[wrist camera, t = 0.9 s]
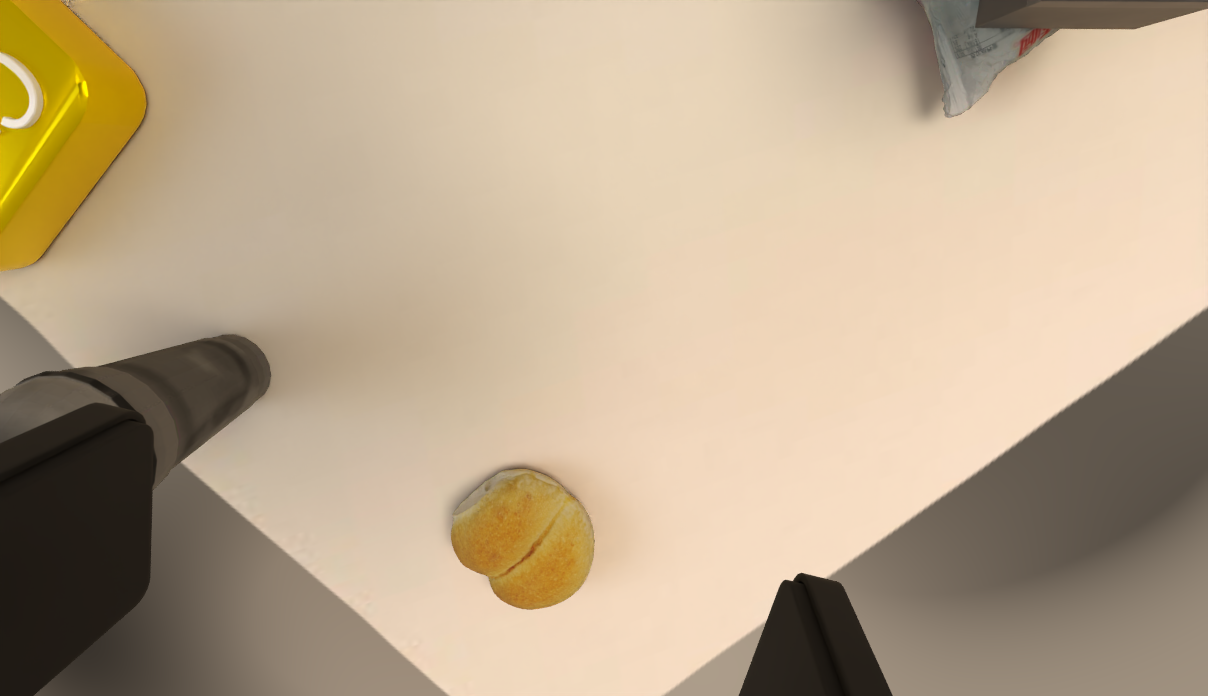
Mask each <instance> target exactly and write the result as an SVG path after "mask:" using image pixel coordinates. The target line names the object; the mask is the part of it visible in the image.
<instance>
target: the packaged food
mask: <svg viewBox="0 0 1208 696" xmlns="http://www.w3.org/2000/svg"><path fill="white" fill-rule="evenodd" d="M916 1H917V2H918V3H919V4H920V5H921V6H922V7H923V9H924V10H925V12H926V15H927V18H928V21H929V23H930V25H931V27H932V31H933V36H934V44H935V50H936V55H937V59H938V64H939V69H940V74H941V80H942V83H943V86H944V94H943V98H942V101H943V102H944V104H945V105H944V108H943V110H944V111H945V117H948V118H950V117H954V116H957V115H960V114H962V113H963V112H965V111H966V110H969V109H970V108H971V106H972V105H973V104H975V103H976V102H977V101H978V100H979V99H980V98H981V97H982V96H983V95H984V94H985V93H986V92H988V89H989V87H990V85H991V83H992V81H993V80H994V79H995V78H996V76H997V74H998V73H1000V72H1001V71H1002V70H1003V69H1004V68H1005V67H1006V66H1008V65H1010V64H1011V63H1014V62H1016V61H1017V60H1018V59H1020V58H1022V57H1023V56H1025V55H1027V54H1028V53H1029V52H1030V51H1031V50H1032V49H1033V48H1034V47H1036V46H1038V45H1039V44H1040V43H1041V42H1042V41H1043V40H1044V39H1045V38H1047V37H1049V36H1051V35H1052V34H1054V33H1055V32H1056V31H1058V30H1059V29H1039V28H975V25H976V18H977V12H978V6H979V0H916Z"/></svg>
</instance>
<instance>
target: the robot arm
mask: <svg viewBox="0 0 1208 696" xmlns="http://www.w3.org/2000/svg"><path fill="white" fill-rule="evenodd" d="M153 453H154V433H153V430H152V428H151V427H150V426H149V425H147V424H146V420H145V418H144V417H143V415H142V414H140V413H139V412H137V411H132V410H128V409H124V408H120V407H116V406H112V405H108V404H104V403H97V402H95V403H91V404H88V405H85V406H83V407H81V408H79V409H76V410H74V411H72V412H70V413H67V414H65V415H63V416H60V417H58V418H56V419H54V420H51V421H49V422H47V423H45V424H42V425H40V426H38V427H35V428H33V429H31V430H29V431H26V432H24V433H22V434H20V435H17V436H15V437H13V438H11V439H8V440H6V441H4V442H1V443H0V696H34V695H35V694H36V693H37V692H38V691H39V690H40V689H41V688H43V687H44V686H45V685H46V684H47V683H48V682H49V681H51V680H52V679H53V678H54V677H55V676H56V675H58V674H59V673H60V672H61V671H62V670H63V669H64V668H66V667H67V666H68V665H69V664H70V663H71V662H72V661H74V660H75V659H76V658H77V657H78V656H79V655H80V654H82V653H83V652H84V651H85V650H86V649H87V648H88V647H90V646H91V645H92V644H93V643H94V642H95V641H96V640H98V639H99V638H100V637H101V636H102V635H103V634H104V633H106V632H107V631H108V630H109V629H110V628H111V627H112V626H113V625H114V624H116V623H117V622H118V621H119V620H120V619H122V618H123V617H124V616H125V615H126V614H127V613H128V612H130V611H131V610H132V609H133V608H134V607H135V606H136V605H137V604H138V603H139V602H140V600H141V599H142V598H143V596H144V594H145V592H146V590H147V588H148V585H149V582H150V566H151V565H150V564H151V528H152V490H153ZM739 696H892V693H891V691H890V689H889V687H888V684H887V682H886V680H885V678H884V675H883V673H882V671H881V669H880V667H879V664H878V662H877V660H876V658H875V656H874V654H873V651H872V649H871V647H870V645H869V643H868V640H867V638H866V636H865V634H864V632H863V629H862V627H861V625H860V623H859V620H858V618H857V616H856V614H855V612H854V609H853V607H852V605H851V603H850V600H849V598H848V596H847V594H846V592H845V589H844V587H843V586H842V585H841V583H839V582H837V581H832V580H828V579H824V578H820V577H816V576H812V575H808V574H804V573H800V574H798V575H797V576H796V577H795V578H794V580H793V581H789V580H784V581H783V582H782V583H781V585H780V587H779V589H778V592H777V595H776V597H775V600H774V603H773V605H772V608H771V611H770V613H769V616H768V619H767V621H766V624H765V627H764V630H763V632H762V635H761V638H760V640H759V643H758V646H757V648H756V651H755V654H754V656H753V659H752V662H751V665H750V667H749V670H748V672H747V675H746V678H745V680H744V683H743V686H742V689H741V691H740V694H739Z"/></svg>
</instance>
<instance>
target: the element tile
mask: <svg viewBox="0 0 1208 696" xmlns="http://www.w3.org/2000/svg"><path fill="white" fill-rule="evenodd" d="M146 105H147V102H146V96H145V90H144V88H143V86H142V85H141V83H140V81H139V79H138V77H137V76H136V74H135V73H134V71H133V70H132V69H131V68H130V67H129V66H128V65H127V64H126V63H125V62H124V61H123V60H122V59H121V58H120V57H119V56H117V55H116V54H115V53H114V52H113V51H112V50H111V49H110V48H109V47H108V46H107V45H106V44H105V43H104V42H103V41H102V40H101V39H100V38H99V37H98V36H97V35H96V34H95V33H94V32H93V31H92V30H90V29H89V28H88V27H87V26H86V25H85V24H84V23H83V22H82V21H81V20H80V19H79V18H78V17H77V16H76V15H75V14H74V13H73V12H72V11H71V10H70V9H69V8H68V7H67V6H66V5H65V4H63V3H62V2H61V1H60V0H0V271H6V270H13V269H19V268H23V267H26V266H28V265H30V264H33V263H34V262H35V261H37V260H38V259H39V258H40V257H41V256H42V255H43V253H44V252H45V251H46V249H47V248H48V247H49V246H50V244H51V243H52V242H53V240H54V239H55V238H56V236H57V235H58V234H59V232H60V231H61V230H62V228H63V227H64V226H65V224H66V223H67V222H68V220H69V219H70V218H71V216H72V215H73V214H74V212H75V211H76V210H77V208H78V207H79V206H80V204H81V203H82V202H83V200H84V199H85V198H86V196H87V195H88V194H89V192H90V191H91V190H92V188H93V187H94V186H95V184H96V183H97V182H98V180H99V179H100V178H101V176H102V175H103V174H104V172H105V171H106V170H107V168H108V167H109V166H110V164H111V163H112V162H113V160H114V159H115V158H116V156H117V155H118V154H119V152H120V151H121V150H122V148H123V147H124V146H125V144H126V143H127V142H128V140H129V139H130V138H131V136H132V135H133V134H134V132H135V131H136V130H137V128H138V127H139V125H140V123H141V122H142V120H143V118H144V115H145V110H146Z"/></svg>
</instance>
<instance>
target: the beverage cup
mask: <svg viewBox="0 0 1208 696" xmlns="http://www.w3.org/2000/svg"><path fill="white" fill-rule="evenodd" d="M270 377H271V373H270V367H269V363H268V361H267V359H266V357H265V355H264V353H263V352H262V351H261V350H260V349H259V348H258V347H257V346H256V345H255V344H254V343H252V342H251V341H249V340H248V339H246V338H243V337H240V336H237V335H221V336H218V337H213V338H204V339H201V340H197V341H193V342H189V343H185V344H182V345H178V346H174V347H170V348H166V349H163V350H159V351H155V352H151V353H147V354H144V355H140V356H136V357H132V358H128V359H124V360H121V361H117V362H113V363H109V364H105V365H102V366H98V367H82V368H75V369H68V370H62V371H46V372H42V373H40V374H37V375H34V376H31V377H29V378H26V379H24V380H22V381H21V382H19V383H18V384H17V385H16V386H14V387H13V388H11V389H8V390H6V391H4V392H3V393H1V394H0V443H1V442H4V441H6V440H8V439H11V438H13V437H15V436H17V435H20V434H22V433H24V432H26V431H29V430H31V429H33V428H35V427H38V426H40V425H42V424H45V423H47V422H49V421H51V420H54V419H56V418H58V417H60V416H63V415H65V414H67V413H70V412H72V411H74V410H76V409H79V408H81V407H83V406H85V405H88V404H91V403H95V402H97V403H104V404H108V405H112V406H116V407H120V408H124V409H128V410H132V411H137V412H139V413H140V414H142V415H143V417H144V418H145V420H146V424H147V425H149V426H150V427H151V428H152V430H153V433H154V453H153V490H154V489H155V488H156V487H157V486H158V485H159V484H160V483H161V482H162V481H163V479H164V478H165V477H166V476H167V475H168V474H169V472H170V470H171V469H172V468H174V467H175V466H176V465H177V464H179V463H180V462H181V461H182V460H184V459H185V458H186V457H188V456H189V455H190V454H191V453H193V452H194V451H195V450H196V449H198V448H199V447H200V446H201V445H203V444H204V443H205V442H206V441H208V440H209V439H210V438H211V437H213V436H214V435H215V434H217V433H218V432H219V431H220V430H222V429H223V428H224V427H225V426H227V425H228V424H229V423H230V422H232V421H233V420H234V419H235V418H237V417H238V416H239V415H240V414H242V413H243V412H244V411H245V410H247V409H248V408H249V407H250V406H252V404H253V403H254V402H255V401H256V400H258V399H259V398H260V397H261V396H262V395H264V394H265V392H266V390H267V388H268V387H269V383H270ZM153 490H152V491H153Z"/></svg>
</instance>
